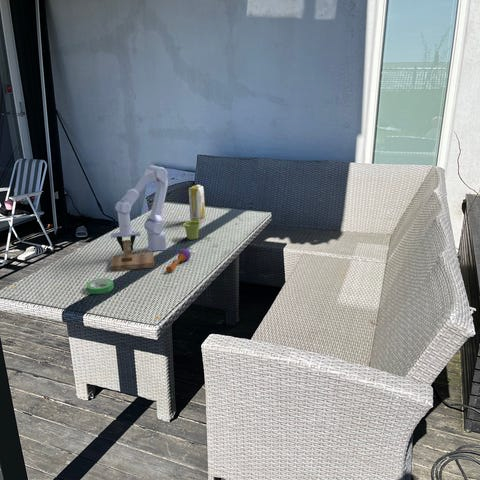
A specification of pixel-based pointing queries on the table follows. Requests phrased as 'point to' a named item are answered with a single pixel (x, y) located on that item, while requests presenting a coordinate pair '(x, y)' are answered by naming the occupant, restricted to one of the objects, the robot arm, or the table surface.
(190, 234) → the plant pot
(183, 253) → the kendama
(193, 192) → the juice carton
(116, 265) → the walnut board
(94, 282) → the tape roll
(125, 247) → the beech peg
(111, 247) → the table surface
